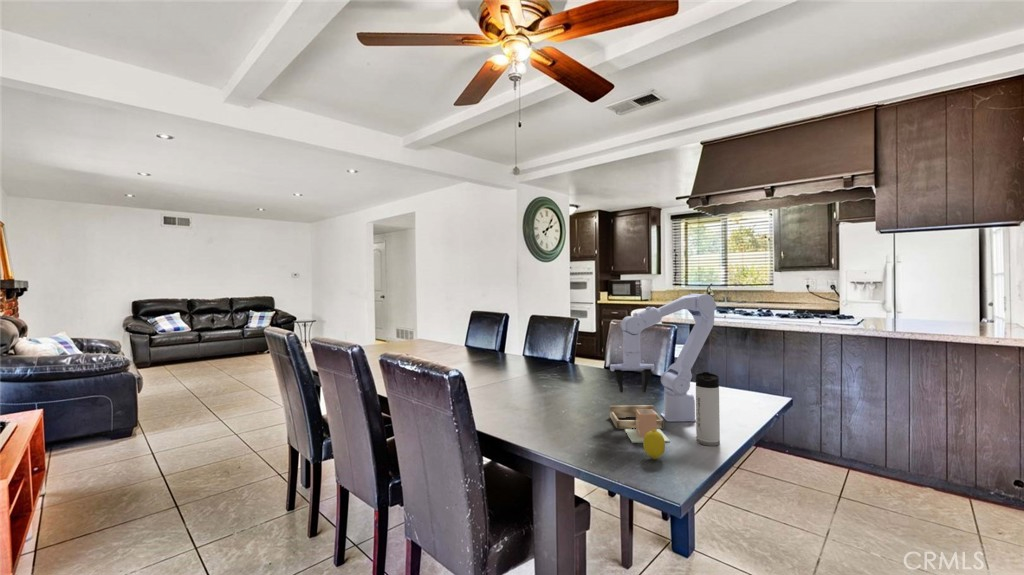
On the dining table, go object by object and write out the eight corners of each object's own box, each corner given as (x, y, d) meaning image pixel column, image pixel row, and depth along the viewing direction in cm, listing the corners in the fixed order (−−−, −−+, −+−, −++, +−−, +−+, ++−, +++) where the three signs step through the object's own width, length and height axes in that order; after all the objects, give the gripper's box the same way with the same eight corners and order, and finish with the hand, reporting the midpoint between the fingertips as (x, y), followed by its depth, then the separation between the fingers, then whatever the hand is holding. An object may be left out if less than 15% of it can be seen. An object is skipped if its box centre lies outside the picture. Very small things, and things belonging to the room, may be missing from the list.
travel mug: (718, 439, 130) (717, 372, 130) (721, 447, 124) (720, 377, 123) (695, 437, 132) (694, 371, 132) (697, 445, 126) (696, 376, 125)
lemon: (640, 455, 119) (639, 426, 119) (660, 454, 120) (659, 425, 119) (648, 464, 114) (647, 433, 113) (669, 463, 114) (668, 432, 114)
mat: (659, 430, 138) (659, 429, 138) (670, 442, 128) (670, 440, 128) (624, 430, 139) (624, 429, 139) (632, 442, 129) (632, 440, 129)
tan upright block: (652, 431, 136) (651, 409, 136) (656, 437, 131) (656, 414, 131) (636, 431, 136) (635, 409, 136) (640, 437, 131) (639, 414, 131)
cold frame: (653, 416, 152) (653, 405, 152) (664, 428, 140) (663, 416, 140) (610, 417, 153) (609, 405, 153) (617, 428, 141) (616, 416, 141)
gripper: (612, 354, 144) (613, 394, 145) (656, 353, 144) (657, 394, 144) (608, 350, 151) (609, 389, 152) (650, 350, 151) (651, 389, 151)
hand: (632, 391), depth 148 cm, fingers open, 7 cm apart
